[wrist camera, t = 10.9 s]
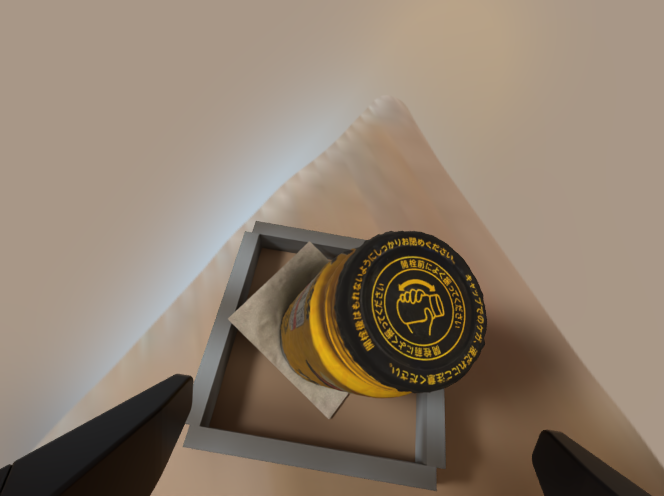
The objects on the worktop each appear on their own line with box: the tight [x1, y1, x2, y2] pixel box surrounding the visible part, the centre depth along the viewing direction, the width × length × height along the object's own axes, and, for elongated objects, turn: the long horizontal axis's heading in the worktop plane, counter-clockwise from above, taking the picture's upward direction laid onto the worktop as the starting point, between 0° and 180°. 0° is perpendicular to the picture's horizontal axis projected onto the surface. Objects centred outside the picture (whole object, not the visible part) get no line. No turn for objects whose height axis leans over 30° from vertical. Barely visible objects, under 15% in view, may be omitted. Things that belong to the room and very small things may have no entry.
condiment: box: [228, 231, 487, 419], centre depth 16 cm, size 7×8×12 cm
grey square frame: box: [183, 221, 446, 491], centre depth 21 cm, size 14×14×3 cm
